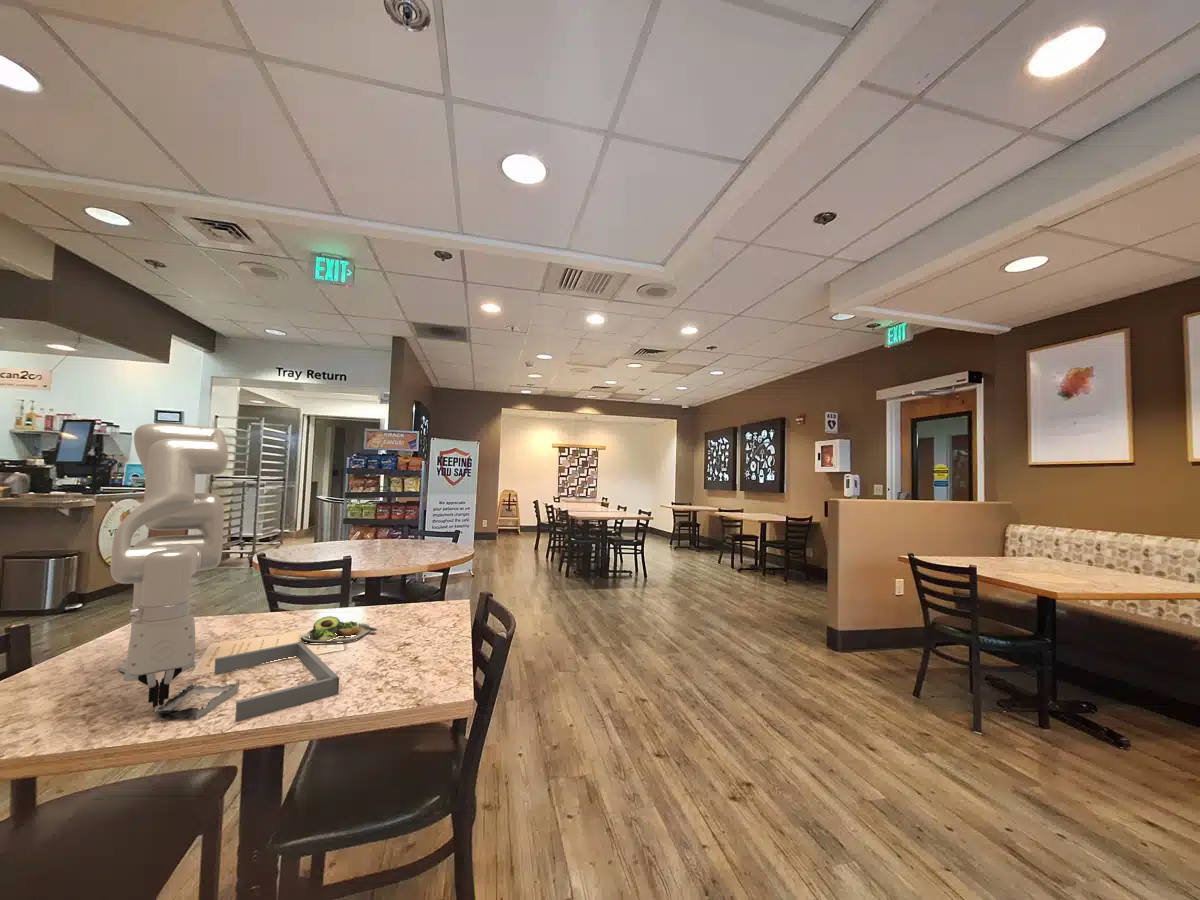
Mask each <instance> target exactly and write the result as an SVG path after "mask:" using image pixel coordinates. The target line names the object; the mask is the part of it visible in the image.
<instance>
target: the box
mask: <svg viewBox="0 0 1200 900" xmlns="http://www.w3.org/2000/svg"><path fill="white" fill-rule="evenodd" d="M294 656H297V657H298V658H299V659H300V660H301V661H300V660H299V659H298V658H297V657H296V658H297V659H298V660H299V661H300V662H301V664H303V666H304V667H305V666H306V667H307V670H308V671H309V672H310V673H311V675H313V677H315V678H316V681H312V682H307V683H304V684H299V685H295V686H292V687H287V688H284V689H279V690H276V691H271V692H268V693H264V694H260V695H256V696H251V697H247V698H243V699H239V700H236V702H235V716H234V717H235V718H234V719H235V722H236V721H237V722H240V721H244V720H247V719H248V720H249V719H250V718H251V719H252V718H254V717H258V716H261V715H265V714H269V713H273V712H276V711H281V710H284V709H288V708H292V707H294V706H295V707H296V706H298V705H302V704H305V703H311V702H313V701H317V700H320V699H324V698H328V697H331V696H332V697H333V696H336V695H339V693H340V691H339V690H340V688H339V687H340V677H339V676H338V675H337V673H335V672H334V671H333V670H332V669H331V668H329V666H328V665H327V664H326V663H324V662H323V660H322V659H320V658H319V656H317V654H315V653H314V652H313V651H312V650H311V649H310V648H309V647H308V646H307V644H306V643H304V642H303V641H298V642H292V643H288V644H282V645H278V646H272V647H266V648H261V649H256V650H250V651H246V652H242V653H241V652H240V653H236V654H230V655H225V656H219V657H216V658H215V659H214V671H213V672H214V673H215V674H216V675H219V674H218V673H220V674H223V673H222V672H225V673H228V672H227V671H230V672H233V671H232V670H235V671H237V670H236V669H239V670H241V669H240V668H244V669H247V668H246V667H249V668H251V667H250V666H254V667H256V666H255V665H258V666H260V665H259V664H262V663H266V662H270V661H274V660H278V659H283V658H288V657H294ZM306 667H305V668H306ZM214 673H213V674H214ZM215 674H214V675H215Z"/></svg>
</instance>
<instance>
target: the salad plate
mask: <svg viewBox="0 0 1200 900" xmlns="http://www.w3.org/2000/svg"><path fill="white" fill-rule="evenodd" d="M376 631H378V628H376V627H371V626H370V625H369V624H368V623H363V622H362V623H358V622H357V621H353V620H351V621H350V620H349V622H347V621H346V622H344V621H340V619H339V618H338V617H337V616H336V617H335V616H331V615H330V616H324V617H321V618H319V619H318V620H316V621H315V622H314V623H313V626H312V629H311V630H309V631H308V632H306V633H303V634H302V635H301V636H300V640H301V642H303V641H304V642H307V643H337V642H348V643H350V642H349V641H352V642H354V641H353V640H356V639H358V640H360V639H359V638H361V637H362V636H363V637H364V636H366V635H367V634H369V633H371V632H376ZM335 633H336V634H337V635H336V634H335ZM365 634H366V635H365ZM351 635H356V636H354V637H352V638H351V637H348V638H340V639H335V640H331V641H327V640H330V639H333V638H336V637H338V636H344V637H345V636H351ZM309 636H310V638H309ZM363 637H362V638H363ZM362 638H361V639H362ZM356 641H357V640H356ZM304 642H303V643H304Z"/></svg>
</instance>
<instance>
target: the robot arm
mask: <svg viewBox="0 0 1200 900" xmlns="http://www.w3.org/2000/svg"><path fill="white" fill-rule="evenodd" d="M133 442H134V447H135V451H136V455H137V457H138V460H139V462H140V464H141V466H142V469H143V472H144V476H145V483H144V494H143V495H144V496H143V502H142V503H141V504H140V505H139V506H137V507H136V508H135V509H133V510H132V511H131V512H129V514H127V515H126V517H124V518H123V519H122V521H121V522H120V524H119V525H118V527H117V528H116V530H115V532H114V535H113V541H112V547H111V548H112V549H111V556H110V557H111V558H110V567H109V568H110V570H109V572H110V576H111V578H112V580H113V581H114V582H116V583H119V584H123V585H125V584H126V585H127V584H133V598H132V609H130V610H129V618H131V622H130V623H131V624H130V635H129V640H128V641H129V642H128V649H127V654H126V656H127V657H126V659H125V660H124V661H121V663H120V664H119V666H118V671H120V672H122V673H124V675H123V681H124V682H136V681H137V682H138V681H139V682H141V684H143V685H146V686H147V687H148V697H147V698H148V701H147V702H148V704H149V703H152V708H157V707H160V706H162V705H163V704H164V703H165V700H168V699H169V697H170V695H169V694H170V684H171V683H172V682H173V680H174V679H176V678H177V677H178V676H179V675H180V674H181V673H183V672H186V671H189V670H192V669H194V668H195V666H196V664H195V663H196V662H195V655H196V624H195V617H194V615H193V614H192V613H191V612H190V603H191V602H190V601H191V591H192V590H191V587H192V576H193V575H194V574H196V572H201V571H209V570H213V569H216V568H217V567H218V566H219V565H220V563H221V561H222V556H223V541H224V521H225V520H224V519H225V517H224V516H225V511H224V510H225V508H224V502H223V499H222V498H221V496H220V495H218V494H215V493H212V492H211V493H210V492H196V475H210V476H211V475H221V474H223V473H224V472H225V470H226V469H227V466H228V461H229V452H228V444H227V441H226V437H225V433H224V432H223V430H221V429H220V428H217V427H214V426H213V427H212V426H201V425H199V426H198V425H187V424H174V423H147V424H142V425H139V426H138V427H137V428H136V429H135V431H134V435H133ZM144 525H145V526H144ZM143 526H144V527H146V528H147V529H149V530H153V531H182V530H183V531H184V530H187V531H188V530H198V531H201V534H184V535H182V534H177V535H176V534H173V535H172V534H171V535H158V536H151V537H150V536H149V537H145V538H144V539H141V540H139V541H138V542H136V544H135V545H134V546H131V543H132V540H133V539H132V538H133V536H134V534H135V532H136V531H138V530H139V529H140V528H142V527H143ZM161 672H164V674H163V677H162V678H161V679H160V680H161V681H160V682H159V680H158V679H156V673H161Z"/></svg>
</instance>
